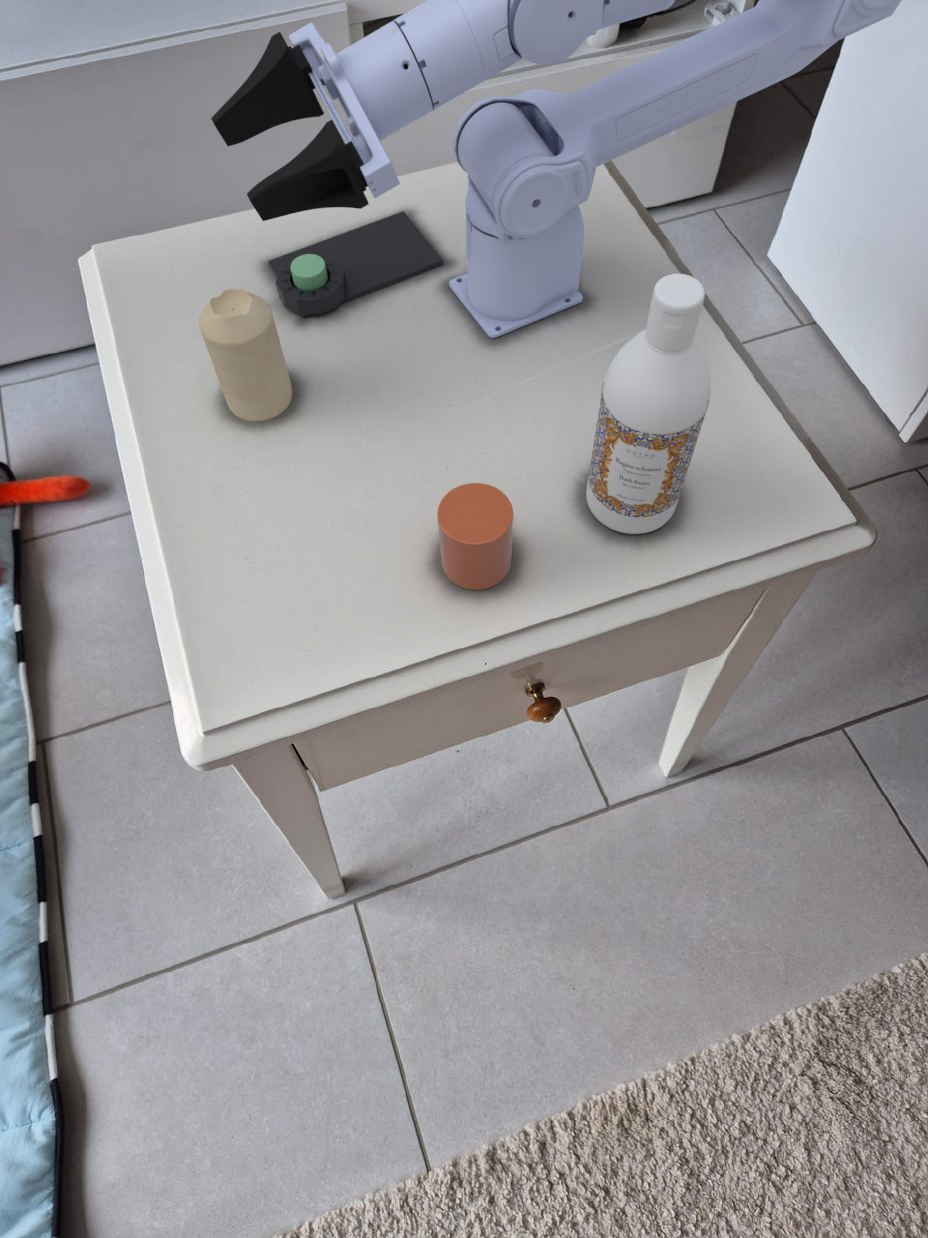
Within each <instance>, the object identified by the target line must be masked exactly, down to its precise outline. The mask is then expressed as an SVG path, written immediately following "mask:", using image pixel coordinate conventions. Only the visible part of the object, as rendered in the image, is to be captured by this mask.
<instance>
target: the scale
mask: <svg viewBox="0 0 928 1238" xmlns="http://www.w3.org/2000/svg"><path fill="white" fill-rule="evenodd" d="M305 254H314V255H318V256H320V257H321V258H322V259H323V260H324V262H325V266H326V271H327V277H328V280H327V283H326V284H325V285H324V286H323V287H322V288H319V289H316V290H314V291H302V290H300V289H298V288H297V287H296V286H295V284H294V281H293V277H292V273H291V263H292V262H293V260H294V259H295V258H297V257H299V256H301V255H305ZM267 263H268V267H269V269H270V270H271V271H272V273H273V274H274V276H275V277H276V280H275V286H276V289H277V294H278V298H279V299H280V301H281V302H282V304H283V306H284V307H285V309H288V310H290V311H292V312H295V313H297V314H299V315H300V316H301V318H302V319H308V318H309V317H312V316H314V315H321V314H323V313H326V312H329V311H331V310H333V309H335V308H337V307H339V306H340V305H343V304H345V303H348V302H351V301H353V300H356V299H358V298H361V297H364V296H366V295H369V294H371V293H375V292H376V291H379V290H381V289H382V290H383V289H384V288H388V287H390V286H392V285H395V284H398V283H400V282H402V281H406V280H408V279H410V278H412V277H415V276H418V275H421V274H423V273H426V272H429V271H431V270H433V269H436V268H439V267H441V266H443V265H444V259H443V258H442V257H441V256H440V254H439V253H438V252H437V251H436V249H435V248H434V247H433V245H432V244H431V243H430V242H429V241H428V239H427V238H426V237H425V236H424V234H423V233H422V232H421V231H420V230H419V228H418V227H417V226H416V225H415V223H414V222H413V220H412V219H411V218H410V217H409V216H408V214H407V213H406V212H405V211H404V210H403V211H400V212H397V213H394V214H392V215H389V216H386V217H384V218H381V219H378V220H374V221H372V222H370V223H367V224H365V225H364V224H363V225H361V226H359V227H356V228H353V229H351V230H348V231H346V232H342V233H339V234H338V235H335V236H332V237H330V238H326V239H324V240H321V241H318V242H316V243H315V242H314V243H313V244H310V245H307V246H305V247H302V248H299V249H297V250H294V251H291V252H289V253H285V254H283V255H280V256H277V257H275V258H272V259H270V260H268V261H267Z"/></svg>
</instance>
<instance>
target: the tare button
mask: <svg viewBox="0 0 928 1238" xmlns="http://www.w3.org/2000/svg"><path fill="white" fill-rule="evenodd" d="M291 273H292V277H293V281H294V284H295V286H296V287H297V288H298V289H300V290H302V291H314V290H316V289H319V288H322V287H323V286H324V285H325V284H326V283H327V280H328V277H327V271H326V266H325V262H324V260H323V259H322V258H321V257H320V256H318V255H314V254H305V255H301V256H299V257H297V258H295V259H294V260H293V262H292V263H291Z"/></svg>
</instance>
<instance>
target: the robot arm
mask: <svg viewBox="0 0 928 1238" xmlns="http://www.w3.org/2000/svg"><path fill="white" fill-rule="evenodd" d="M675 2H676V0H425V1H423V2H422V3H420V4H419V5H417V6H415V7H413V8H411V9H410V10H408V11H405V12H404V13H403V14H401V15H399V16H397V17H396V18H394V19H393V20H392V21H390V22H388V23H386V24H385V25H383V26H381V27H380V28H378V29H376V30H374V31H373V32H371V33H369V34H368V35H366V36H364V37H363V38H361V39H359V40H358V41H356V42H354V43H352V44H350V45H349V46H347V47H346V48H344V49H342V50H341V51H339V52H337V53H336V52H335V50H334V48H333V47H332V45H331V43H330V42H325V40H324V39H323V37H322V36H321V34H320V33H319V30H318V29H317V28H316V26H315V24H314V22H312V21H311V22H309V23H307V24H306V25H304V26H303V27H301V28H299V29H297V30H296V31H294V32H292V33H290V34H288V38H289V40H290V43H291V45H292V46H293V47H292V46H291V45H289V46H288V44H287V42H286V40H285V38H284V36H283V34H282V32H281V31H278V32H276V33H275V34H273V35H271V37H270V39H269V42H268V43H267V46H266V48H265V50H264V52H263V54H262V56H261V57H260V59H259V61H258V63H257V64H256V66H255V67H254V69H253V70H252V71H251V73H250V74H249V75H248V77H247V78H246V80H245V81H244V82H243V83H242V84H241V86H240V87H239V88H238V89H237V90H236V91H235V92H234V93H233V94H232V95H231V97H230V98H229V99H228V100H226V102H225V103H224V104H223V105H222V106H221V107H220V108H219V109H218V110H217V111H216V112H215V113H214V114H213V116H212V117H210V120H211V121H212V123H213V125H214V127H215V128H216V130H217V132H218V133H219V135H220V137H221V138H222V140H223V141H224V143H225V144H226V146H227V147H231V146H235V145H238V144H241V143H243V142H246V141H248V140H251V139H252V138H254V137H256V136H258V135H261V134H262V133H264V132H266V131H268V130H270V129H272V128H275V127H278V126H280V125H283V124H287V123H290V122H293V121H298V120H303V119H311V118H320V117H322V116H324V115H325V111H324V110H323V108H322V106H321V104H320V102H319V100H318V97H317V95H316V93H315V91H314V90H316V92H317V93H318V95H319V97H320V100H322V103H323V104H324V106H325V108H326V110H327V112H328V113H329V116H330V118H331V119H330V120H328V121H326V123H325V124H324V125H323V126H322V128H321V129H320V131H318V133H317V134H316V135H315V136H314V138H313V139H312V140H311V141H310V142H309V143H308V144H307V146H305V148H303V149H302V150H301V151H300V152H299V153H298V154H297V155H296V156H294V157H293V158H292V159H291V160H289V161H288V162H287V163H285V164H284V165H283V166H282V167H280V168H278V169H276V170H275V171H274V172H273V173H271V174H269V175H268V176H267V177H265V178H263V179H262V180H261V181H259V182H258V183H256V184H255V185H254V186H253V187H252V188H251V189H250V190H249V191H248V192H247V193H246V196H247V197H248V200H249V202H250V204H251V205H252V207H253V208H254V210H255V211H256V213H257V214H258V216H259V218H260V219H261V221H262V222H265V221H269V220H273V219H276V218H281V217H284V216H288V215H292V214H296V213H301V212H305V211H311V210H319V209H329V208H331V209H332V208H347V209H349V208H350V209H357V210H358V209H363V208H365V207H367V206H368V205H369V203H370V202H369V200H368V198H367V196H366V193H365V192H366V191H367V188H368V189H369V191H370V193H371V194H372V196H373V198H374V199H376V198H378V197H380V196H382V195H383V194H385V193H387V192H388V191H391V190H392V189H394V188H396V187H398V186H399V185H400V184H401V183H400V180H399V178H398V176H397V175H398V174H397V173H396V170H395V169H394V165H393V163H392V161H391V159H390V158H389V156H388V153H386V150H385V149H384V147H383V145H382V142H381V141H383V140H384V139H387V138H388V137H390V136H391V135H394V134H395V133H397V132H399V131H400V130H402V129H404V128H406V127H407V126H409V125H411V124H412V123H414V122H416V121H417V120H419V119H422V118H423V117H425V116H426V115H428V114H430V113H432V112H433V111H435V110H437V109H439V108H440V107H442V106H444V105H446V104H447V103H449V102H450V101H452V100H454V99H456V98H457V97H459V96H461V95H463V94H465V93H466V92H468V91H470V90H471V89H473V88H475V87H476V86H478V85H480V84H482V83H483V82H485V81H487V80H489V79H491V78H493V77H494V76H495V75H497V74H499V73H502V72H503V71H505V70H506V69H508V68H509V67H511V66H513V65H514V64H516V63H518V62H520V61H522V60H524V59H525V60H526V61H528V62H530V63H532V64H535V65H550V64H560V63H562V62H564V61H566V60H567V59H568V58H569V57H571V56H572V55H573V54H574V53H575V52H576V51H577V50H578V49H579V48H580V47H581V45H582V44H583V43H584V41H585V40H586V39H588V38H589V37H591V36H594V35H596V34H597V31H599V30H602V29H604V28H605V29H606V28H609V27H612V26H615V25H618V24H622V23H626V22H628V21H632V20H636V19H639V18H643V17H645V16H649V15H653V14H655V13H659V12H662V11H665V10H668V9H669V8H670V7H672V6H673V4H675ZM901 2H902V0H758V2H757V3H756V5H754V6H753V7H752V8H750V9H747V10H745V11H743V12H741V13H739V14H737V15H735V16H732V17H730V18H728V19H726V20H724V21H722V22H720V23H717V24H715V25H714V26H711V27H709V28H707V29H705V30H703V31H701V32H699V33H697V34H694V35H692V36H690V37H688V38H686V39H684V40H682V41H680V42H677V43H675V44H673V45H671V46H669V47H667V48H664V49H663V50H660V51H659V52H656V53H653V54H651V55H650V56H647V57H646V58H644V59H641V60H639V61H637V62H634V63H633V64H631V65H629V66H626V67H624V68H622V69H619V70H618V71H616V72H614V73H612V74H609V75H607V76H605V77H602V78H601V79H599V80H597V81H594V82H592V83H590V84H588V85H586V86H584V87H582V88H580V89H577V90H576V91H575V90H574V92H571V93H566V92H559V91H554V90H548V89H540V88H530V89H528V90H527V91H524V92H522V93H519V94H517V95H509V96H508V95H493V96H492V95H490V96H488V97H484V98H482V99H480V100H479V101H477V102H476V103H474V104H472V105H471V106H470V107H469V108H468V109H467V110H466V111H465V113H464V114H463V115H462V116H461V118H460V120H459V121H458V123H457V125H456V127H455V131H454V134H453V139H452V149H453V155H454V158H455V160H456V162H457V164H458V165H459V166H460V167H461V169H462V170H463V171H464V172H465V173H466V174H467V191H466V197H465V232H466V233H465V234H466V238H465V239H466V240H465V241H466V273H464V274H462V275H459V276H456V277H454V278H451V279H450V280H449V282H448V286H449V288H450V289H451V291H452V292H453V294H454V295H455V296H456V297H457V298H458V300H459V301H460V303H462V305H463V306H464V307H465V308H466V310H467V311H468V312H469V313H470V315H471V317H473V319H474V320H475V321H476V323H477V324H478V325H479V327H480V328H481V329H482V330H483V331H484V333H485V334H486V336H487V337H489V338H491V339H495V338H498V337H501V336H503V335H506V334H507V333H510V332H513V331H516V330H517V329H520V328H522V327H525V326H527V325H530V324H532V323H534V322H535V323H536V322H537V321H539V320H542V319H544V318H547V317H549V316H551V315H554V314H556V313H559V312H561V311H564V310H566V309H568V308H571V307H573V306H576V305H578V304H580V303H582V302H583V299H584V295H583V294H582V293H581V292H580V291H579V287H580V277H581V269H582V260H583V250H584V242H585V227H584V219H583V216H582V211H581V208H580V206H581V205H582V204H585V203H586V202H587V201H588V200H589V198H590V195H591V191H592V188H593V184H594V180H595V176H596V172H597V168H598V167H600V166H602V165H604V164H607V163H608V162H611V161H612V160H615V159H617V158H619V157H622V156H624V155H626V154H627V153H630V152H632V151H634V150H636V149H638V148H641V147H643V146H644V145H647V144H650V143H651V142H653V141H656V140H658V139H660V138H662V137H665V136H666V135H668V134H671V133H672V132H674V131H677V130H679V129H681V128H683V127H685V126H687V125H689V124H691V123H694V122H696V121H698V120H700V119H702V118H704V117H707V116H709V115H711V114H713V113H716V112H717V111H719V110H722V109H723V108H725V107H728V106H730V105H733V104H734V103H736V102H739V101H740V100H741V101H742V100H743V99H745V98H747V97H749V96H751V95H754V94H756V93H759V91H762V90H764V89H767V88H768V87H771V86H772V85H774V84H777V83H779V82H781V81H783V80H785V79H788V78H790V77H791V76H794V75H795V74H797V73H798V72H800V71H802V70H803V69H804V68H806V67H807V66H808V65H810V64H811V63H812V62H813V61H815V60H816V59H817V58H819V57H820V56H821V55H822V54H823V53H825V52H826V51H827V50H828V49H830V48H831V47H832V46H834V45H835V44H836V43H837V42H838V41H840V40H843V39H844V38H847V37H849V36H851V35H854V34H855V33H857V32H860V31H861V30H864V29H866V28H868V27H870V26H872V25H874V24H876V23H879V22H881V21H883V20H886V19H887V18H889V17H891V16H892V15H893V14H894V13H895V11H896V10H897V8H898V6H899V5H900V4H901ZM324 86H325V87H326V89H325V87H324ZM332 100H333V101H335V100H338V103H339V105H340V106H341V108H342V109H343V110H342V111H343V112H344V114H345V116H346V119H345V122H346V123H347V126H348V128H349V130H348V128H347V127H346V125H345V123H344V121H343V119H342V118H341V115H340V114H339V112H338V110H337V108H336V107H335V105H334V103H333V101H332ZM349 131H350V132H349ZM350 133H351V134H352V135H351V134H350Z"/></svg>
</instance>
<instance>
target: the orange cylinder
mask: <svg viewBox="0 0 928 1238" xmlns="http://www.w3.org/2000/svg"><path fill="white" fill-rule="evenodd" d="M437 529H438V539H439V540H438V541H439V542H438V543H439V552H440V553H439V554H440V564H441V569H442V572H443V573H444V575H445V577H446V578H447V579H448V580H449V581H450V582H451V583H452V584H454V585H456V586H457V587H459V588H461V589H464V590H470V591H483V590H486V589H491V588H493V587H495V586H497V585H498V584H500V583H501V582H502V581H503V580H504V579H505V578H506V577H507V575H508V573H509V572H510V569H511V565H512V554H513V553H512V552H513V532H514V531H513V530H514V508H513V504H512V502H511V501H510V499H509V498H508V495H506V494H505V493H504V492H503V491H501V490H500V489H498V488H497V487H495V486H493V485H490V484H487V483H481V482H469V483H464V484H461V485H458V486H456V487H454V488H452V489H451V490H450V491H448V492H447V493H446V494H445V495H444V496H443V497H442V499H441V501H440V502H439V504H438V508H437Z"/></svg>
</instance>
